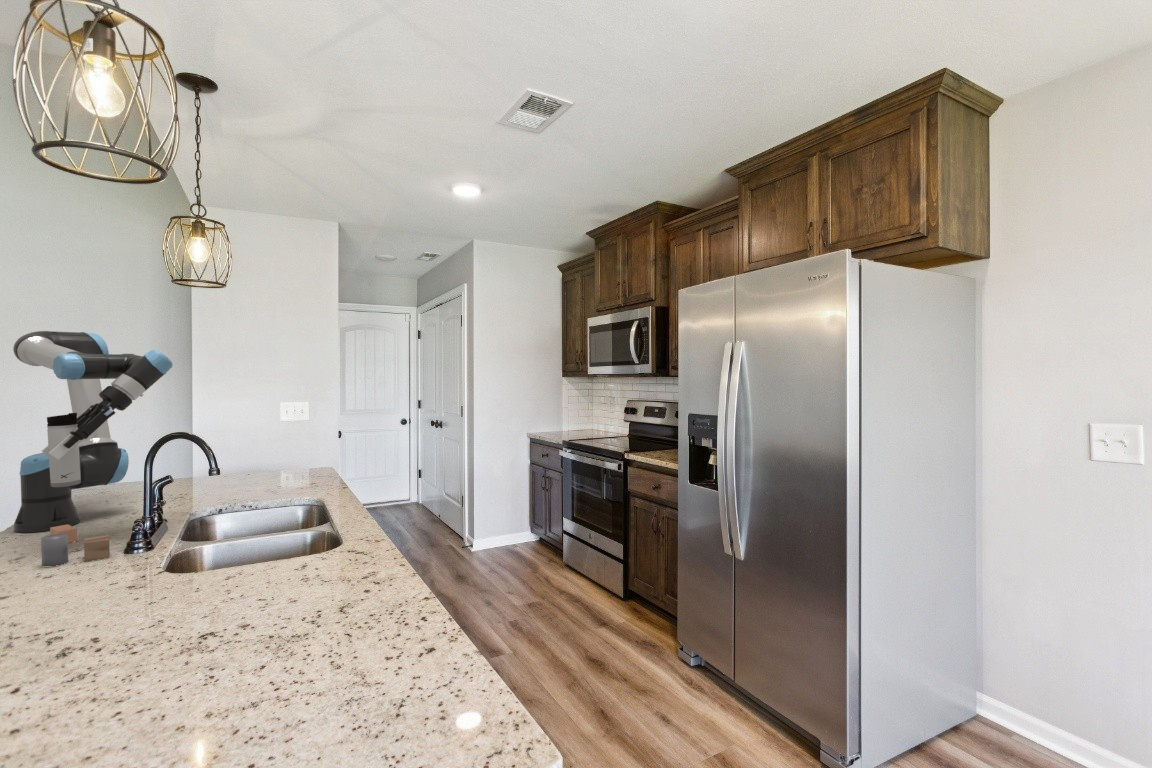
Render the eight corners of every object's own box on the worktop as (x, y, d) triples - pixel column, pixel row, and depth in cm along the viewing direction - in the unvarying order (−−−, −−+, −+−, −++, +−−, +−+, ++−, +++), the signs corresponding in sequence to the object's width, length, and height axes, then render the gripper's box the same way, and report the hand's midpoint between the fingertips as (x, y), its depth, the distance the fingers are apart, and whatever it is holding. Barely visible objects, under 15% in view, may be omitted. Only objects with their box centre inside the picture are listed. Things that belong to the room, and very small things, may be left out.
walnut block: (84, 557, 150) (84, 538, 150) (109, 553, 153) (108, 535, 153) (84, 562, 146) (84, 543, 146) (109, 558, 149) (109, 539, 149)
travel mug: (69, 487, 154) (65, 413, 153) (44, 487, 154) (39, 414, 153) (88, 482, 160) (84, 411, 159) (64, 482, 160) (59, 412, 159)
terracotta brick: (50, 541, 164) (50, 527, 164) (68, 537, 168) (68, 524, 168) (58, 546, 160) (58, 531, 160) (77, 542, 163) (76, 528, 163)
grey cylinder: (48, 561, 146) (47, 534, 146) (72, 559, 148) (71, 532, 148) (37, 568, 142) (36, 540, 141) (62, 565, 143) (61, 538, 143)
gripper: (145, 402, 164) (73, 467, 151) (121, 400, 175) (52, 460, 162) (122, 385, 159) (46, 449, 146) (99, 383, 170) (26, 444, 157)
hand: (49, 455), depth 154 cm, fingers closed on travel mug, 6 cm apart
